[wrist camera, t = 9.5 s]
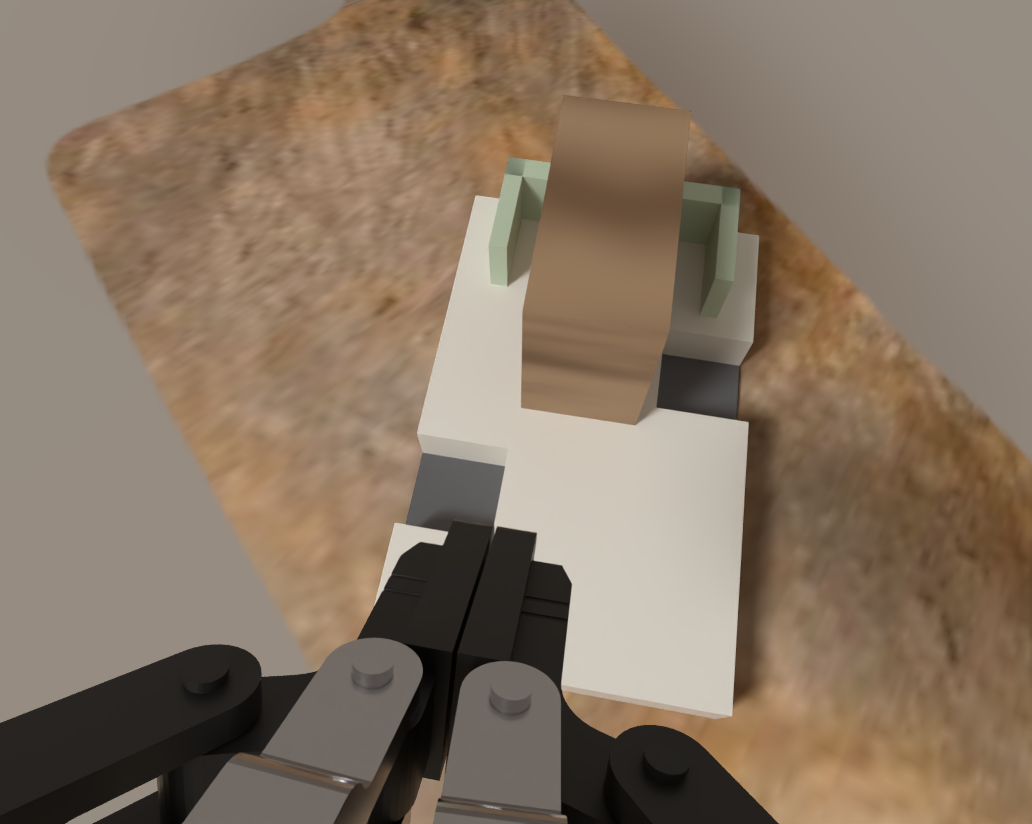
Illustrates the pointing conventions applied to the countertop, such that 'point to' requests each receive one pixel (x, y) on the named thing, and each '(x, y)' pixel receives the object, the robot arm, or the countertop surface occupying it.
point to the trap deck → (604, 457)
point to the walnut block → (604, 259)
